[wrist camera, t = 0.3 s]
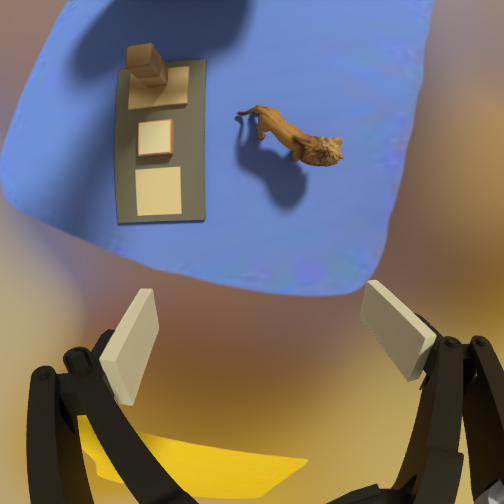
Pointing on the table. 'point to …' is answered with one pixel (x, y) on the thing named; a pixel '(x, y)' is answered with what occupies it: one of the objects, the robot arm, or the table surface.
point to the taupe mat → (166, 165)
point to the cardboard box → (154, 79)
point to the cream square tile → (156, 137)
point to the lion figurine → (297, 138)
